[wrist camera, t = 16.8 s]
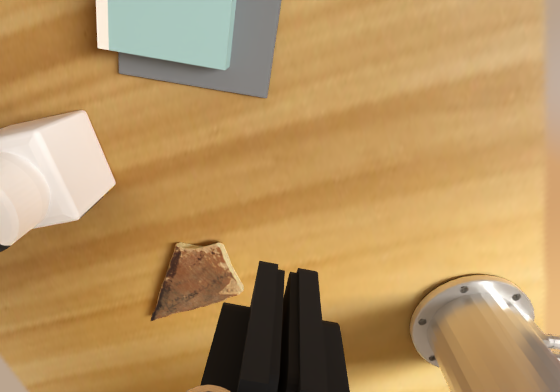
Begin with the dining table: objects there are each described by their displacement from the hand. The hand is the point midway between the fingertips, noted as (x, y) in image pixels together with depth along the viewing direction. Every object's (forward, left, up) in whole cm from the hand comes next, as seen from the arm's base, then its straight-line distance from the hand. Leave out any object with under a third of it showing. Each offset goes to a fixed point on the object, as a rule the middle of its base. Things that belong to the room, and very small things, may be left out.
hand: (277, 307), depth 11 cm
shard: (+5, +18, -24) cm, 31 cm away
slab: (+5, -8, -22) cm, 23 cm away
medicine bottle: (+19, +6, -23) cm, 31 cm away
